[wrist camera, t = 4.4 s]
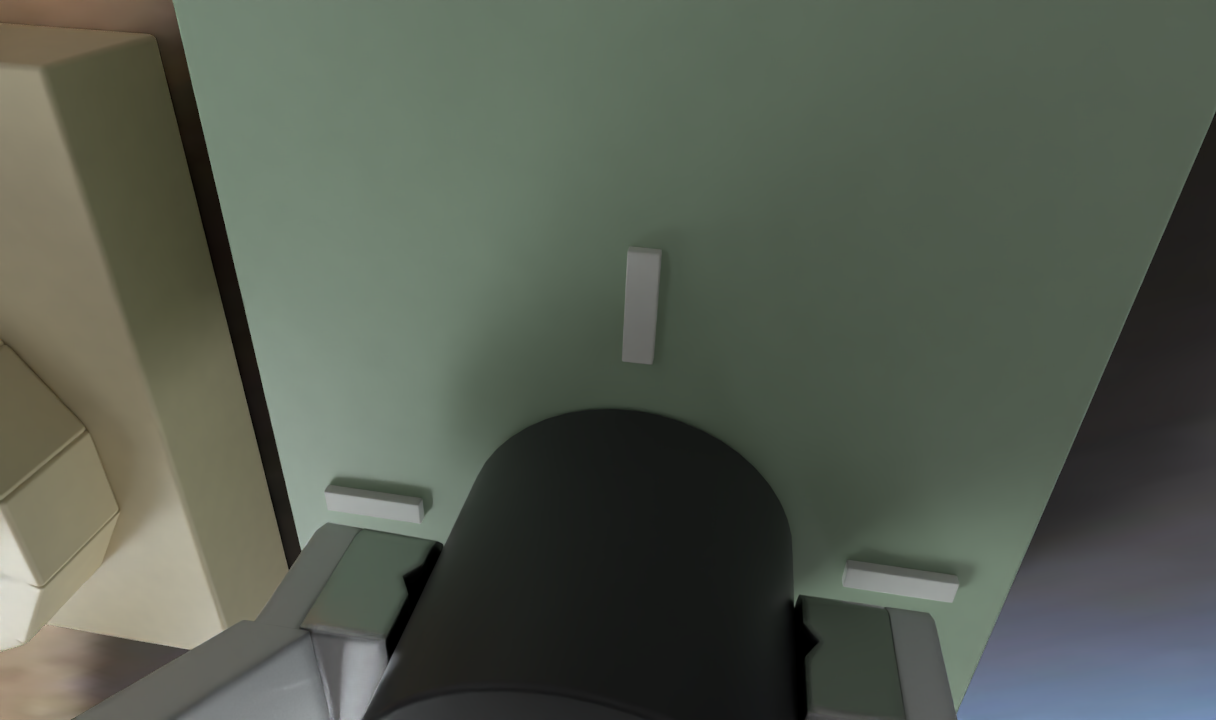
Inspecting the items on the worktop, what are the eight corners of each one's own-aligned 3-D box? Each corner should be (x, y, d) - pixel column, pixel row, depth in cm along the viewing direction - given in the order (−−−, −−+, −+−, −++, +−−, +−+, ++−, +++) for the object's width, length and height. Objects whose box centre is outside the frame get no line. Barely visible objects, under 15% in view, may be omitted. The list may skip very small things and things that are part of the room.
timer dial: (819, 431, 10) (850, 777, 6) (767, 669, 12) (766, 1023, 8) (460, 385, 10) (289, 679, 6) (478, 623, 12) (359, 934, 9)
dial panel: (290, -171, 10) (116, -181, 7) (1163, -136, 9) (1337, -136, 6) (396, 551, 16) (325, 684, 14) (902, 629, 15) (930, 792, 13)
